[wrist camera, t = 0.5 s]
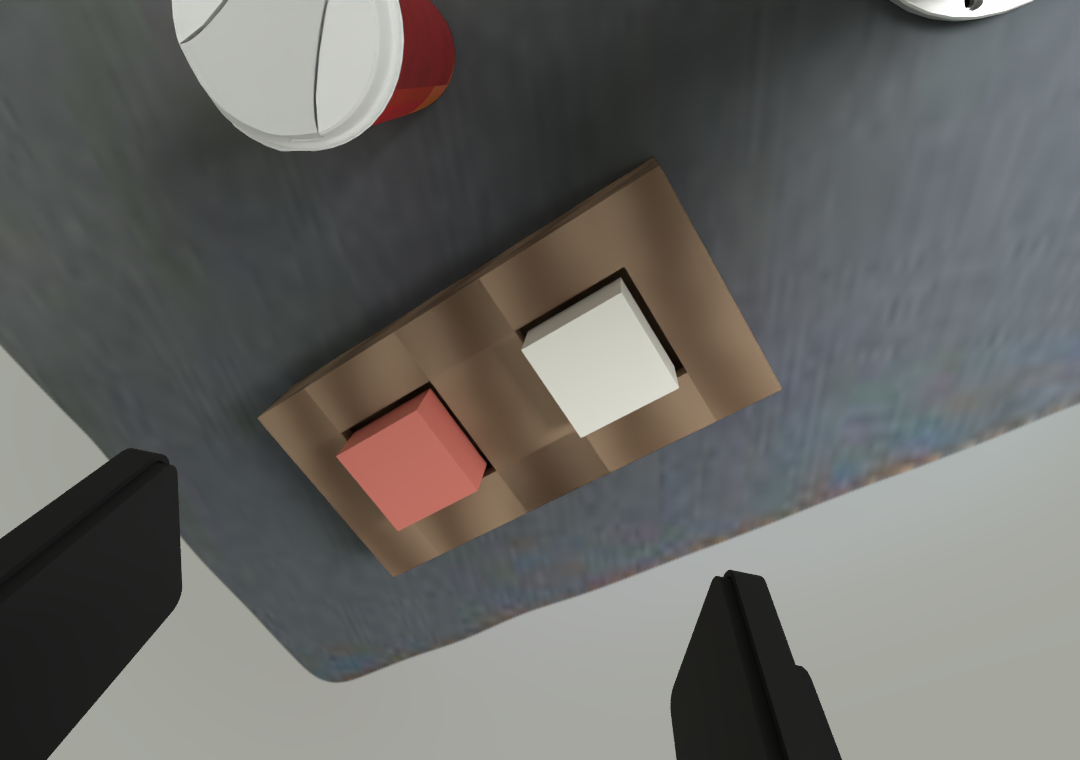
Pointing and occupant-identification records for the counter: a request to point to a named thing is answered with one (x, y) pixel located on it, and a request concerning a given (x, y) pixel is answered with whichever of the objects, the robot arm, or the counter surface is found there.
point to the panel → (530, 368)
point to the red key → (413, 460)
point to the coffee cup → (315, 64)
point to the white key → (600, 359)
